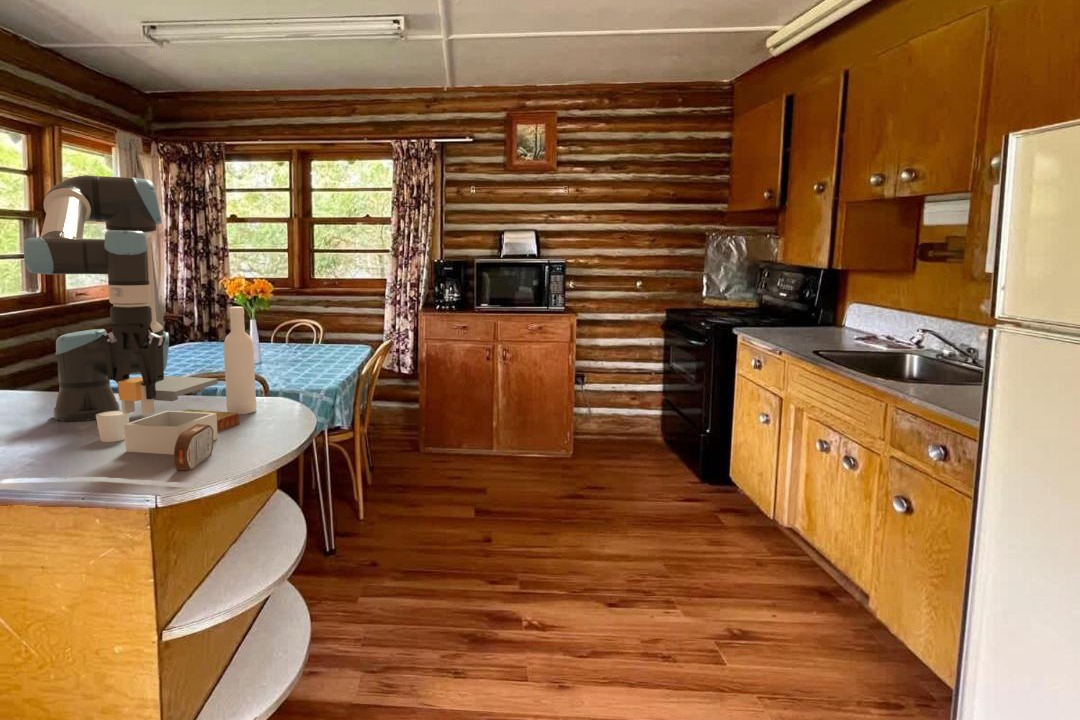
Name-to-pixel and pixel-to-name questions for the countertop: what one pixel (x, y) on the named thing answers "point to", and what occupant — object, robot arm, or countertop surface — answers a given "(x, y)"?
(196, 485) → the countertop surface
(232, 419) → the carton
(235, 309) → the bottle
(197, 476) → the countertop surface
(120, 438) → the cream cylindrical piece
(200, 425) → the tin
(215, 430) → the tub
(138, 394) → the lid
